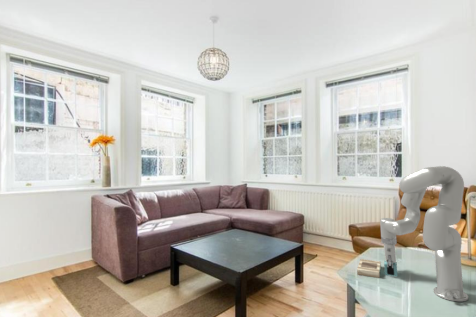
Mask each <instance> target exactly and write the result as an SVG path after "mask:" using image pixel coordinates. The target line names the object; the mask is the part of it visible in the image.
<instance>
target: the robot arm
mask: <svg viewBox="0 0 476 317" xmlns="http://www.w3.org/2000/svg"><path fill="white" fill-rule="evenodd" d="M436 185H437V186H438V185H441V187H440V188H441V189H440V190H439V194H438V201H437V205H435V206H431V207H429V208H428V209H427V211H426V212H425V215H424V218H423V220H424V221H423V227H422V228H423V230H422V240H423V243H424V244H425V246H426V247H427V248H428V249H430V250H431V251H434V262H435V274H436V276H435V277H436V287H434V288H433V293H434V294H435V296H437V297H439V298H442V299H445V300H447V301H452V302H461V303H462V302H467V301H469V295H468V294H467V293H466V292H465V291H464V284H463V269H462V254H461V251H462V236H461V234H460V232H459V231H458V230H457V229H456V228H455V227H452V226H454V225H457V224H458V223H460V221H461V218H462V207H463V206H462V205H463V199H464V198H463V197H464V191H465V182H464V178H463V176H462V175H461V174H460V173H459V172H458V171H457V170H456V169H454V168H452V167H449V166H443V165H442V166H441V165H439V166H430V167H429V166H428V167H424V168H421V169H419V170H418V171H415V172H413V173H411V174H408V175H406V176H405V177H403V178H401V179H400V181H399V184H398V186H399V190H400V191H401V192H402V193H403V194H402V197H401V199H400V204H401V205H402V206H404V207H405V209H406V212H405V215H404V218H402V219H398V220H395V219H394V218H391V217H382V218H381V219H380V222H379V224H380V238H381V241H380V242H381V244H383V250H384V257H385V258H384V259H385V261H386V262H387V274H389V275H388V276H390V275H394V267H393V263H396V262H397V257H396V256H397V254H396V246H395V245H397V236H403V235H407V234H411V233H414V231H416V229H417V227H418V225H419V222H420V220H421V209H420V207H421V204H422V202H423V199H424V197H425V194H426V192H427V189H428V188H429V187H431V186H436ZM391 261H392V262H391ZM391 263H392V264H391Z"/></svg>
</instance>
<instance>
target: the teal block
mask: <svg viewBox="0 0 476 317" xmlns="http://www.w3.org/2000/svg"><path fill="white" fill-rule="evenodd" d="M391 262H392V261H391ZM391 264H392V263H391ZM383 265H384V266H383V267H384V275H385V276H390V277H398V264H397V261H396V263H393V267H394V275H389V274H387V262H386V260H384V262H383Z"/></svg>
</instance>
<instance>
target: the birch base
mask: <svg viewBox="0 0 476 317" xmlns="http://www.w3.org/2000/svg"><path fill="white" fill-rule="evenodd" d="M381 263H382V262H381V261H378V260H370V259H364V258H363V259H362V258H360V260H359V263H358V265H357V268H356V273H357V276H363V277H369V278H370V277H371V278H377V279H380V276H381V275H380V274H381V268H382V264H381Z"/></svg>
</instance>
